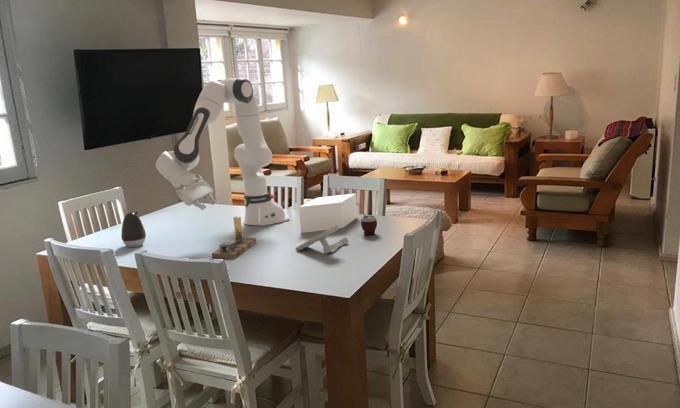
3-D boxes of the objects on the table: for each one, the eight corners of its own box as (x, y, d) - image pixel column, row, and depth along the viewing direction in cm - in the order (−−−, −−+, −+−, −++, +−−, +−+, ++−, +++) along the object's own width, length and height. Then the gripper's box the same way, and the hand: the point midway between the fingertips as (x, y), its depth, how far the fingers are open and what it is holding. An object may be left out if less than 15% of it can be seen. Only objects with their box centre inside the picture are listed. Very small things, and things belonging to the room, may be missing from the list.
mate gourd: (380, 233, 251) (379, 200, 248) (369, 237, 245) (367, 204, 242) (367, 231, 256) (366, 198, 253) (356, 235, 250) (354, 202, 247)
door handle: (304, 265, 232) (337, 247, 220) (295, 248, 233) (327, 229, 220) (329, 252, 246) (361, 235, 234) (320, 236, 246) (352, 218, 234)
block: (369, 220, 275) (368, 195, 272) (313, 236, 253) (311, 209, 250) (345, 215, 288) (344, 191, 285) (289, 230, 266) (287, 204, 263)
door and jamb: (234, 242, 250) (233, 231, 249) (255, 242, 247) (255, 231, 246) (212, 258, 229) (210, 246, 228) (235, 258, 226) (233, 246, 225)
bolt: (238, 238, 245) (236, 215, 243) (245, 238, 245) (243, 215, 242) (229, 245, 236) (226, 221, 234) (235, 245, 235) (233, 221, 233)
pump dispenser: (151, 242, 257) (147, 209, 254) (139, 249, 247) (134, 215, 244) (131, 241, 259) (126, 209, 256) (118, 248, 249) (113, 215, 246)
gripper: (178, 183, 231) (202, 206, 231) (201, 174, 251) (224, 196, 250) (169, 194, 233) (193, 217, 233) (193, 184, 253) (215, 205, 252)
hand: (209, 206), depth 242 cm, fingers open, 8 cm apart
